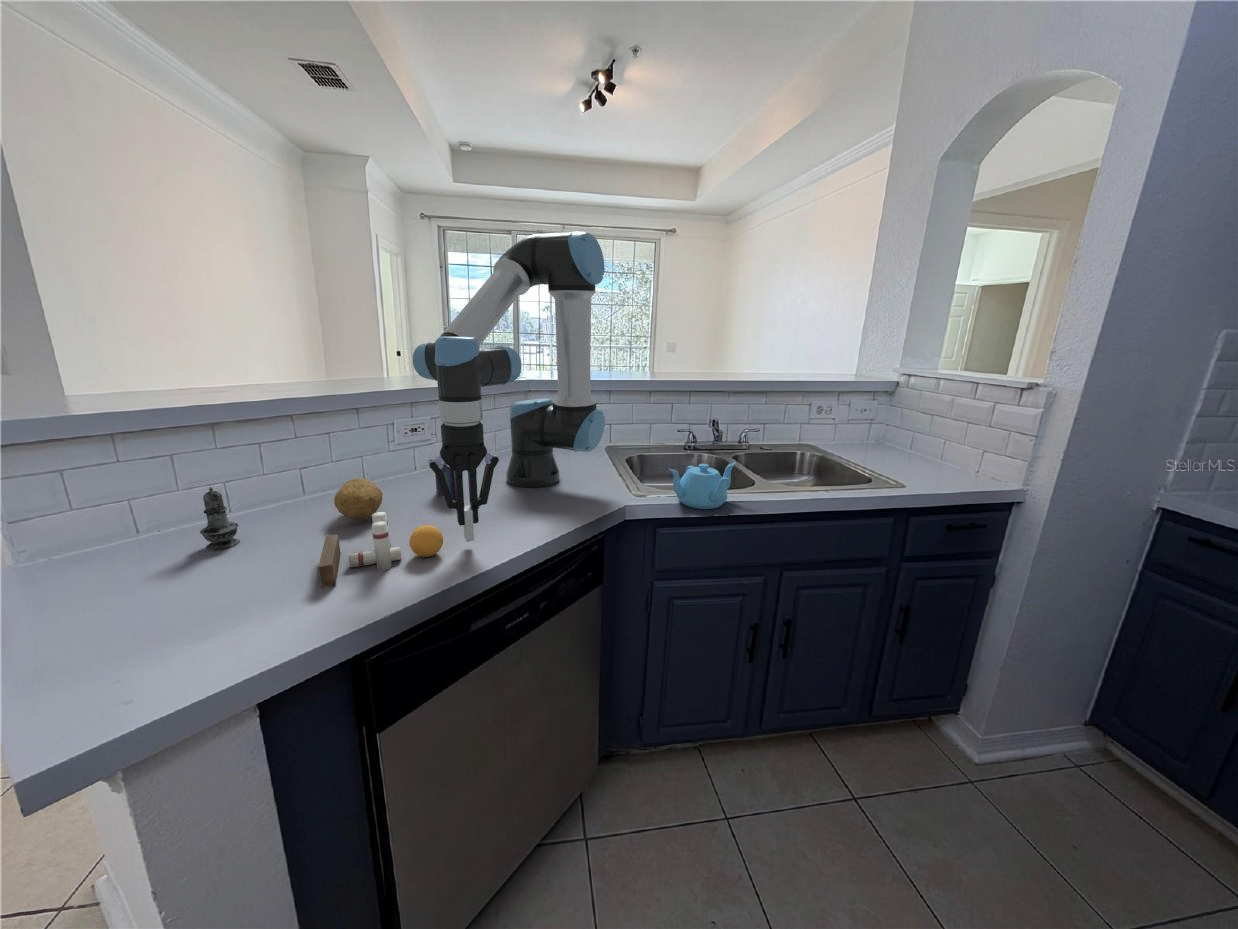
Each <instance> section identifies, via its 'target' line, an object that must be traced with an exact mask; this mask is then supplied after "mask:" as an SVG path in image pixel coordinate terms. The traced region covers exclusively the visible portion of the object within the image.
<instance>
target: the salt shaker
mask: <svg viewBox="0 0 1238 929" xmlns="http://www.w3.org/2000/svg"><path fill="white" fill-rule="evenodd" d="M202 498H203V504H204V510H203V513H204V514H205V516H206V519H207V520H206V521H207V524H206V526H204V527H203V528H201V529H200V531H199V533H200V534H201V535H202V537H203V538H204V540H206V541H207V542H210V543H208V544H207V545H206V546H205V550H206V551H209V552H217V551H223V550H227V549H231V548H234V547H236V546H238V545H239V544H240V543H241V540H240V539H238V538H235V536H236V535H237V531H238V528H239V524H238V523H237V522H233V521H230V520H229V518H228V515H227V510H228V507H227V506H225V504H224V499H223V494H222V493H221V492H220V491H217V490H214V488H213V487H211V486H210V487H209V489H208V492H205V493H204V495H203V496H202ZM237 544H238V545H237Z"/></svg>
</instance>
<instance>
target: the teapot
mask: <svg viewBox="0 0 1238 929" xmlns="http://www.w3.org/2000/svg"><path fill="white" fill-rule="evenodd" d="M736 464H737V462H736V461H733V462H730V463H728V465H727V466H726V467H725V469H724V473H723V476H722V475H721V473H720V471H718V470H717V469H715V468H713V467H709V466H710V465H709V464H707V463H699V464H698V466H694V465H688V466H687V467H686V468H685V471H684V472H685V473H684V474H683V475H682V477H681V478H680V474H679V471H677V470H676V469H672V468H668V470H669V471H670V472H671V473H672V476H673V481H672V488H673V491H674V493H675V494H676V497H677V499H678V500H679V502H681V504H682V505H684V506H687V507H689V508H693V509H698V510H712V509H713V510H714V509H717V508H720V507H721V506H722V505H723V504H725V503H726V501H727V499H728V489H729V488H730V485H731V482H732V477H731V476H732V469H733V467H734V466H735V465H736Z"/></svg>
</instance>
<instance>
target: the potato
mask: <svg viewBox="0 0 1238 929" xmlns="http://www.w3.org/2000/svg"><path fill="white" fill-rule="evenodd" d="M333 502H334V508H336V509H337V511H338V513H339V514H342V515H344V516H345V517H347V518H350V519H352V520H363V521H364V520H367V519H369V518H370V517H372V514H374V513H377V511H378V509H379V508H380V507H381V505H382V502H383V492H382V490H381V489H380V488H379V487H378V486H377V485H375V483H374V482H372V481H371V480H368V479H365V478H357V477H356V478H352V479H349V480H348V481H346V482H345V483H343V485H342V486H341V487H340V488H339V489H338V491H336V493H335V496H334V498H333Z"/></svg>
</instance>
